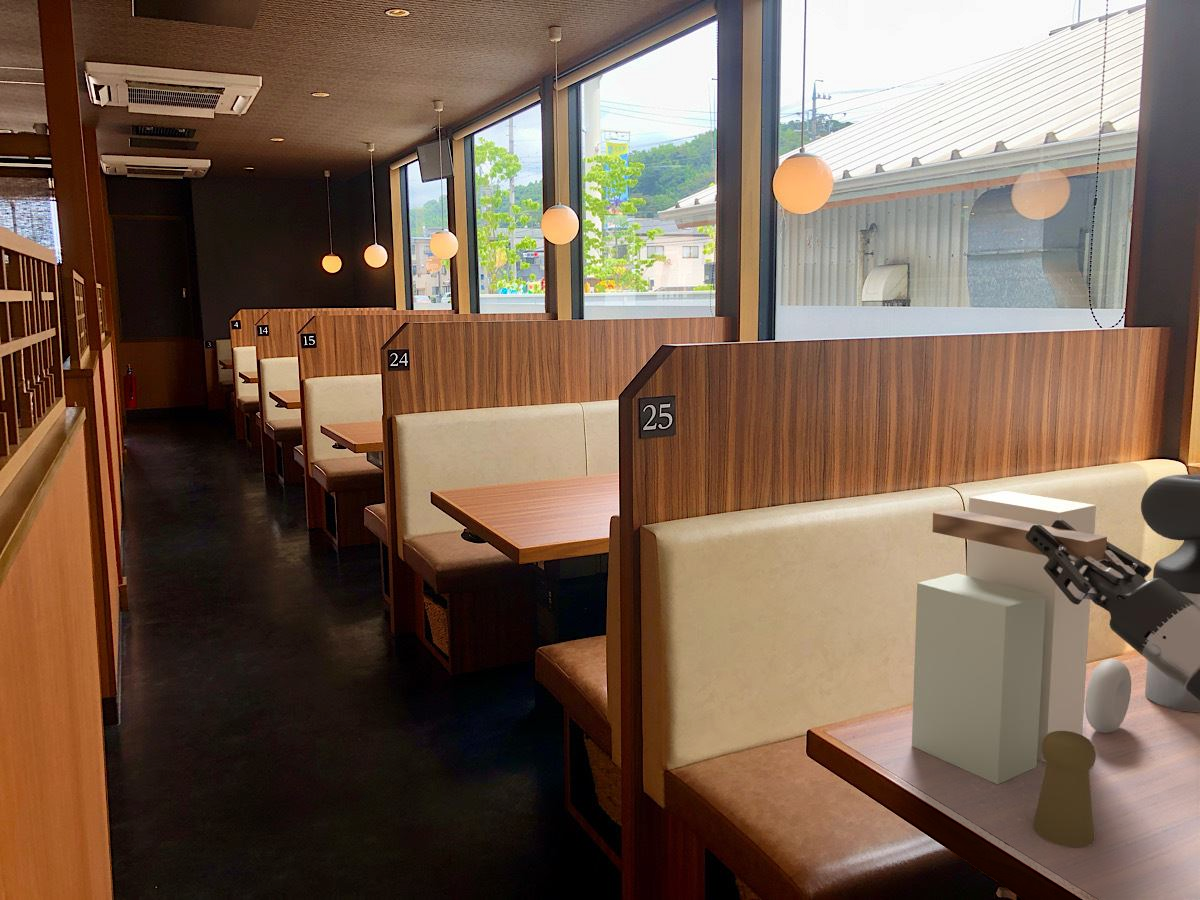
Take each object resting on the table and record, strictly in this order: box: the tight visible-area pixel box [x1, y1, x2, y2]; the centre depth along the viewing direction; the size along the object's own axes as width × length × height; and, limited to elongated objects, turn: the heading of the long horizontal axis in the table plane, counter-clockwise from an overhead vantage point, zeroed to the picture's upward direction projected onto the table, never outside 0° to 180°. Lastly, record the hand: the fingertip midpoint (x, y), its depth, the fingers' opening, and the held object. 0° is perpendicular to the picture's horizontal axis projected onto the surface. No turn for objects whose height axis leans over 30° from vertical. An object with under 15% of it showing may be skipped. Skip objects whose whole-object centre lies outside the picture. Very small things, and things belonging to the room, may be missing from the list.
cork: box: [1032, 731, 1097, 848], centre depth 100 cm, size 6×6×11 cm
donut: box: [1084, 658, 1132, 734], centre depth 125 cm, size 10×4×10 cm, turn 134°
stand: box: [911, 490, 1097, 785], centre depth 119 cm, size 12×18×32 cm
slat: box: [932, 508, 1108, 561], centre depth 111 cm, size 20×4×2 cm, turn 33°
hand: (1042, 528), depth 108 cm, fingers closed on slat, 4 cm apart
